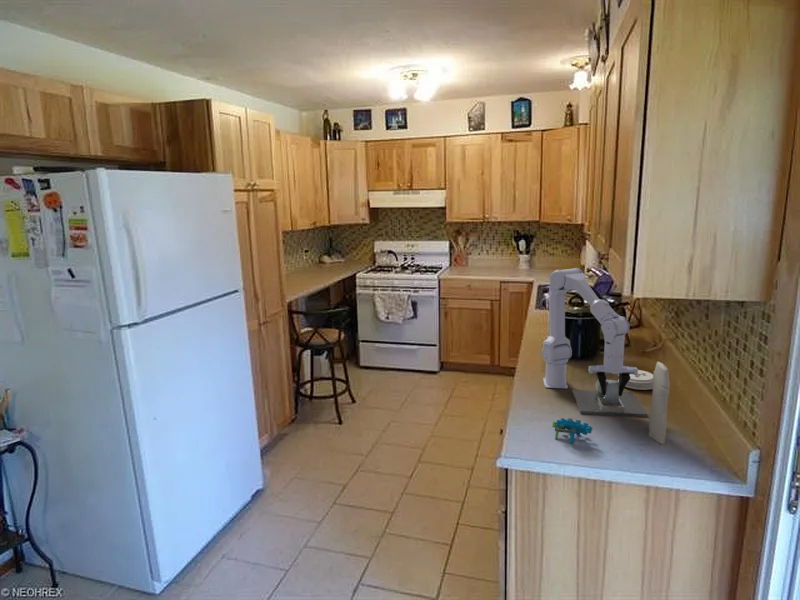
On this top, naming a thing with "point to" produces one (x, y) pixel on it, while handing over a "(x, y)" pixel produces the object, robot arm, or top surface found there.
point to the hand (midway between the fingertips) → (611, 394)
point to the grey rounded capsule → (611, 391)
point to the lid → (640, 381)
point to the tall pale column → (659, 403)
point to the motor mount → (607, 403)
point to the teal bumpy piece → (571, 428)
